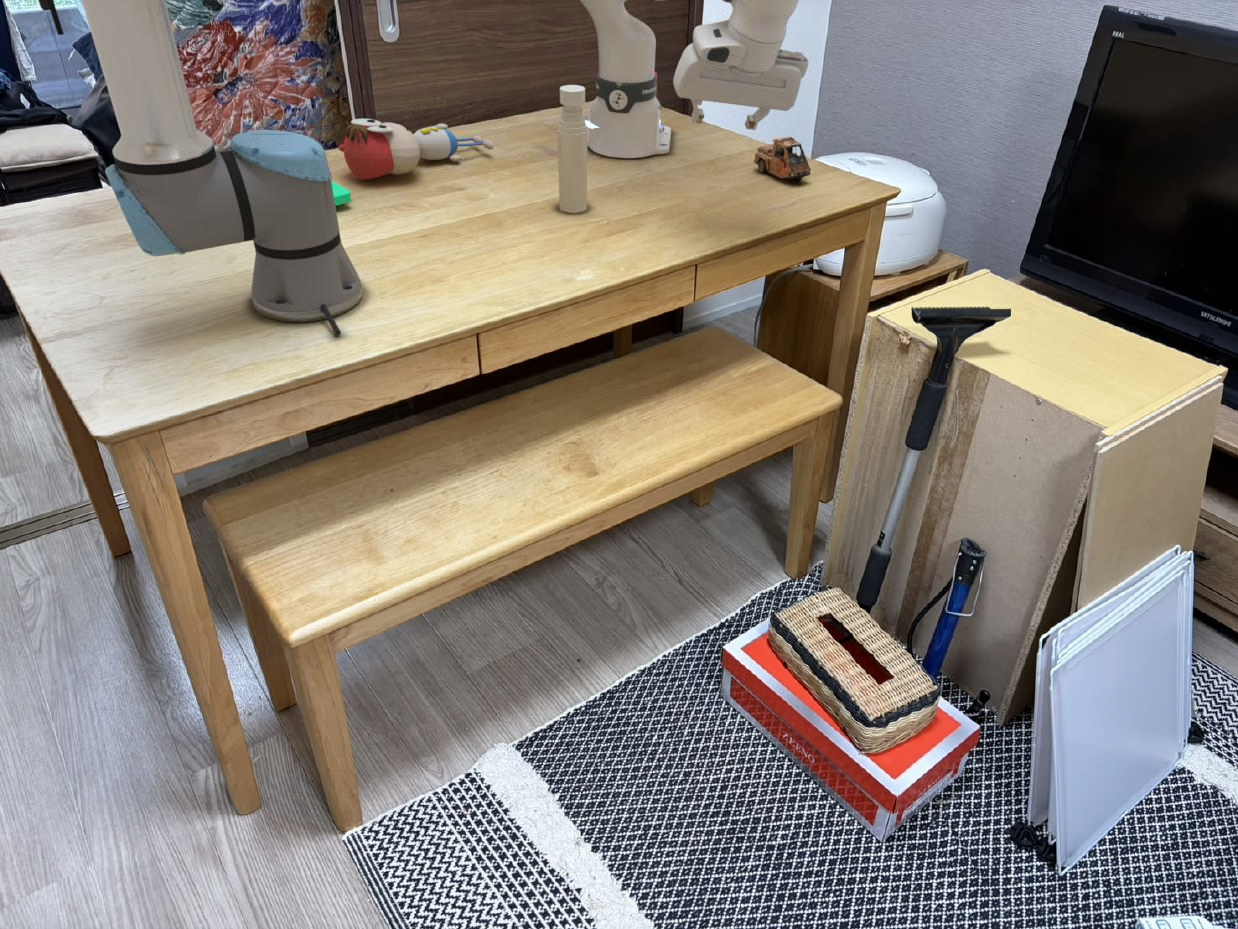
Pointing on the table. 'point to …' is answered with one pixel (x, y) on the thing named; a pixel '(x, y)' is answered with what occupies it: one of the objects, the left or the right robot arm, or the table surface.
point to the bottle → (572, 160)
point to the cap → (572, 95)
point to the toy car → (782, 160)
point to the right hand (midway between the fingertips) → (723, 124)
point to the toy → (397, 147)
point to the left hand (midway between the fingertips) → (108, 29)
